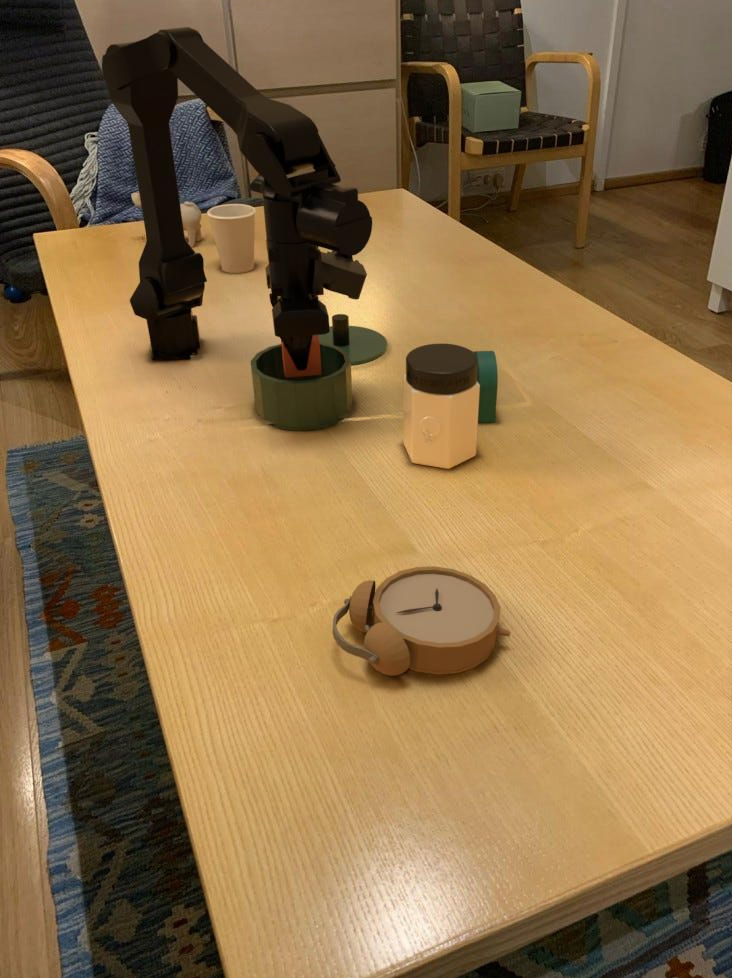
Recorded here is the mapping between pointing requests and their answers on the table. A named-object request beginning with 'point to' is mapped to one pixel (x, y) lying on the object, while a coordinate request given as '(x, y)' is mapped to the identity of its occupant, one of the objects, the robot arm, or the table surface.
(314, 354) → the box
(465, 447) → the jar
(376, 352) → the lid
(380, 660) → the alarm clock
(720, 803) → the table surface
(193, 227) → the dog figurine
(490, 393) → the bracket
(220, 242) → the dixie cup
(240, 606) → the table surface
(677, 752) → the table surface
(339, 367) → the pot
